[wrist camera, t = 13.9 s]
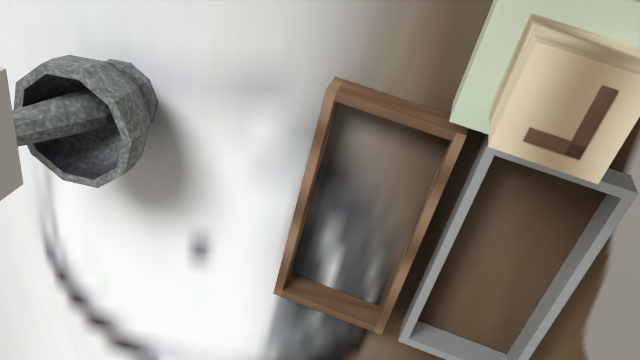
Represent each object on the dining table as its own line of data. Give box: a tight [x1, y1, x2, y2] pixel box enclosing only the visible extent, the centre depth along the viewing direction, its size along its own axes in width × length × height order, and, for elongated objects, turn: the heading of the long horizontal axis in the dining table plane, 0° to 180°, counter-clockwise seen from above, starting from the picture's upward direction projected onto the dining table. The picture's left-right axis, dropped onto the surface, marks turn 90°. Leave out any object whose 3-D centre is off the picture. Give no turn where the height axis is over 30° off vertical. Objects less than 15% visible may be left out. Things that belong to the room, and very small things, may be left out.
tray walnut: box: [273, 77, 468, 335], centre depth 45 cm, size 20×10×2 cm, turn 166°
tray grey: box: [398, 134, 638, 360], centre depth 44 cm, size 20×10×2 cm, turn 166°
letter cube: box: [488, 13, 640, 184], centre depth 31 cm, size 6×6×6 cm
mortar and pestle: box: [12, 55, 158, 188], centre depth 42 cm, size 11×9×12 cm
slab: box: [449, 0, 640, 135], centre depth 35 cm, size 10×10×4 cm
